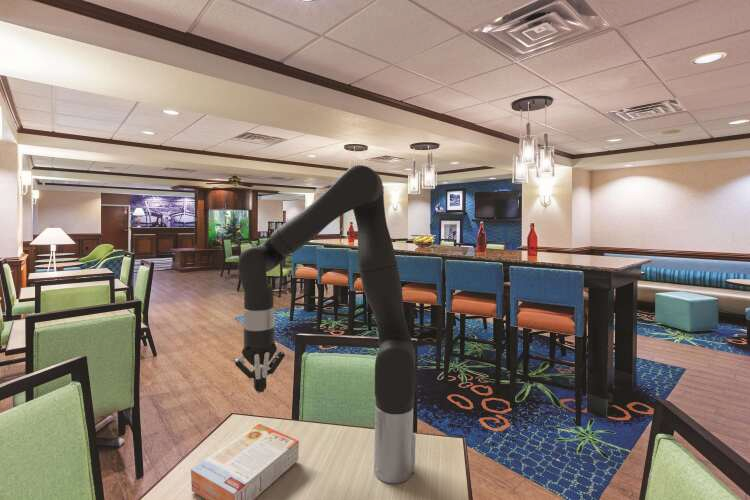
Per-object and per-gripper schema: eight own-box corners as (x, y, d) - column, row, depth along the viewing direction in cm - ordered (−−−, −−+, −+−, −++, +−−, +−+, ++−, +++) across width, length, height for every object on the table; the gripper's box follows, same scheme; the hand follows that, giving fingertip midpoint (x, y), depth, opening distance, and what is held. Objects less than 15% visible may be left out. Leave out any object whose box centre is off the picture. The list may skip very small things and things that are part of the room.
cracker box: (259, 442, 105) (189, 492, 87) (259, 422, 104) (189, 467, 86) (299, 461, 99) (233, 519, 80) (299, 440, 98) (233, 493, 80)
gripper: (235, 333, 91) (236, 403, 92) (289, 325, 98) (290, 391, 99) (228, 324, 97) (230, 391, 99) (280, 317, 104) (280, 380, 106)
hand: (260, 391), depth 99 cm, fingers closed
